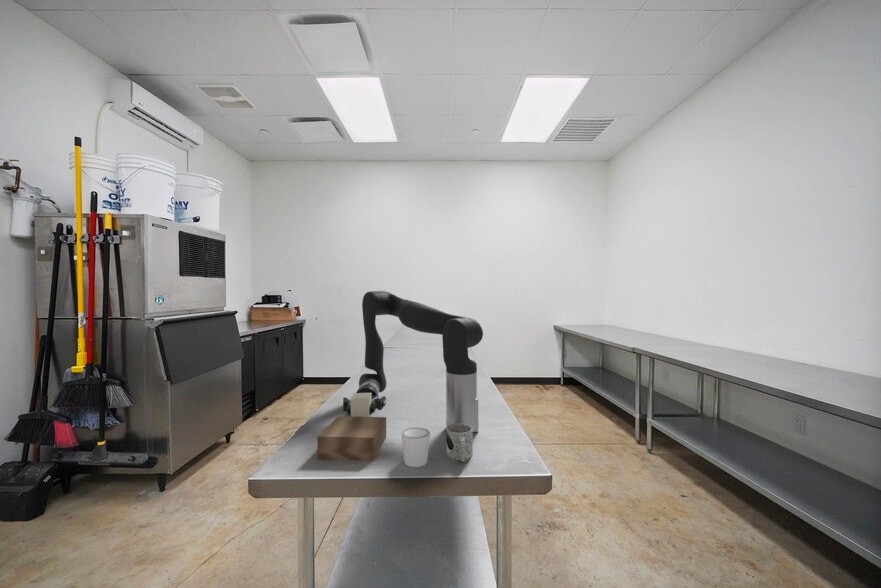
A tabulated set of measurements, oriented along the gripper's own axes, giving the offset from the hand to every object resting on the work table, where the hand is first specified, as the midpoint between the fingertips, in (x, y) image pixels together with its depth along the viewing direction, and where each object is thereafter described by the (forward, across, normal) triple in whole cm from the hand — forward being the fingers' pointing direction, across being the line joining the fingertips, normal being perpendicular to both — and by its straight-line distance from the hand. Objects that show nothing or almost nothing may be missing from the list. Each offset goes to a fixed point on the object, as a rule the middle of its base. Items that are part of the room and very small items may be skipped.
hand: (360, 411), depth 101 cm
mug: (+18, +27, +6) cm, 33 cm away
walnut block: (+10, 0, +6) cm, 12 cm away
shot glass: (+19, +16, +6) cm, 26 cm away
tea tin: (-3, 0, +6) cm, 7 cm away
